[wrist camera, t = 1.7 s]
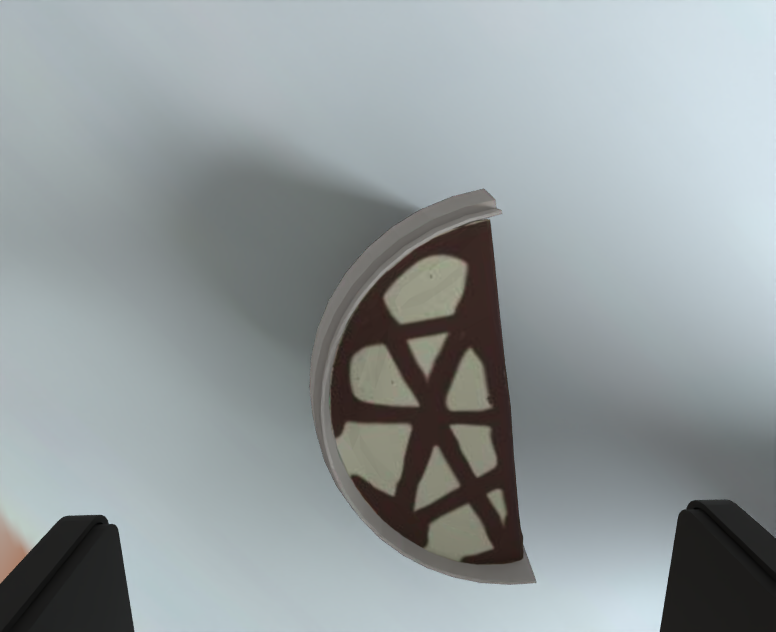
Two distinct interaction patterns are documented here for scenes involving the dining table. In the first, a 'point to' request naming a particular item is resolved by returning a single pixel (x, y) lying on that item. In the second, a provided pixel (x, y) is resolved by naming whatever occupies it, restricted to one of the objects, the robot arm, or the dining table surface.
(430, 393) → the food container
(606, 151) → the dining table surface
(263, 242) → the dining table surface
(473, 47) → the dining table surface
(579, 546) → the dining table surface
